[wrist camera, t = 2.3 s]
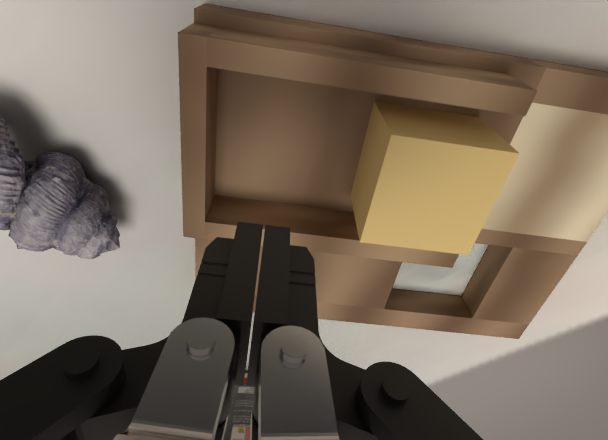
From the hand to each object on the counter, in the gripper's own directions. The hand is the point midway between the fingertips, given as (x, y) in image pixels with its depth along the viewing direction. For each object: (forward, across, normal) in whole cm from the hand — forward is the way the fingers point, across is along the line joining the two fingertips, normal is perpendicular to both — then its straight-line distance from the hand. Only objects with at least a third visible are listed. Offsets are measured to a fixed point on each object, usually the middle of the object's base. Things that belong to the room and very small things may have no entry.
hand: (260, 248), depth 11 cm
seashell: (+11, +12, +5) cm, 17 cm away
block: (+8, -7, 0) cm, 11 cm away
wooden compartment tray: (+10, -7, +4) cm, 13 cm away
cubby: (+9, -3, 0) cm, 9 cm away
